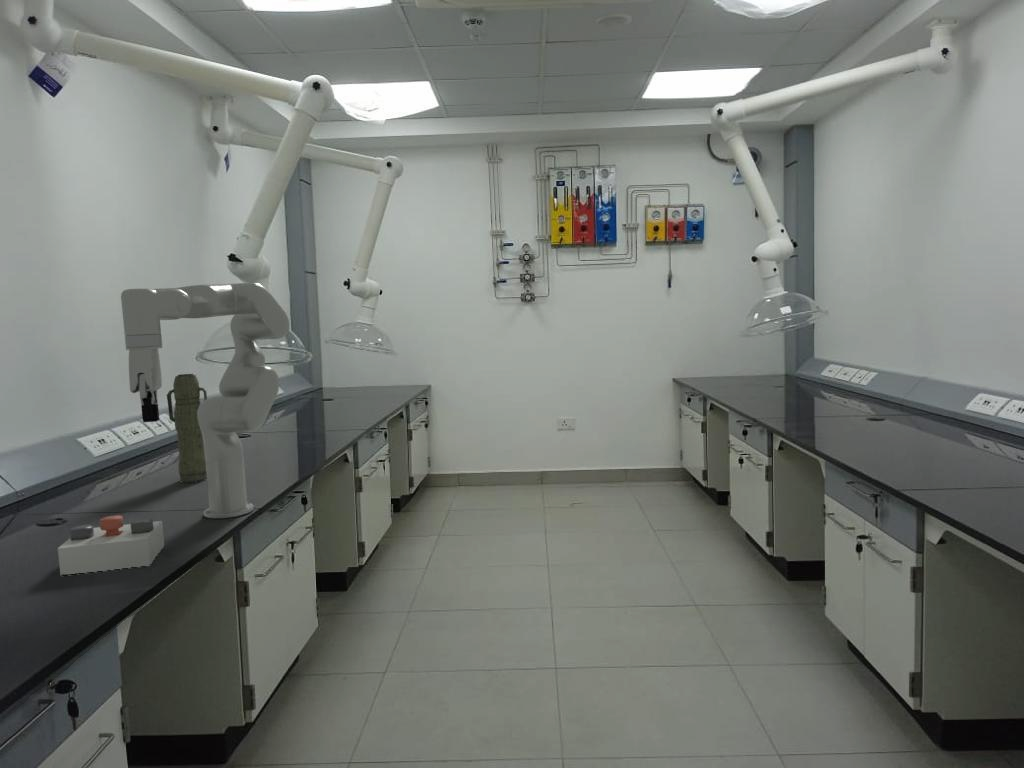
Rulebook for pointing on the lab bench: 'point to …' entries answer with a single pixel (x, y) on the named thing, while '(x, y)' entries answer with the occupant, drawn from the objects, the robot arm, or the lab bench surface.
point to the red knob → (111, 525)
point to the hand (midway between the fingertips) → (151, 421)
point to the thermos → (188, 427)
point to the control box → (111, 550)
